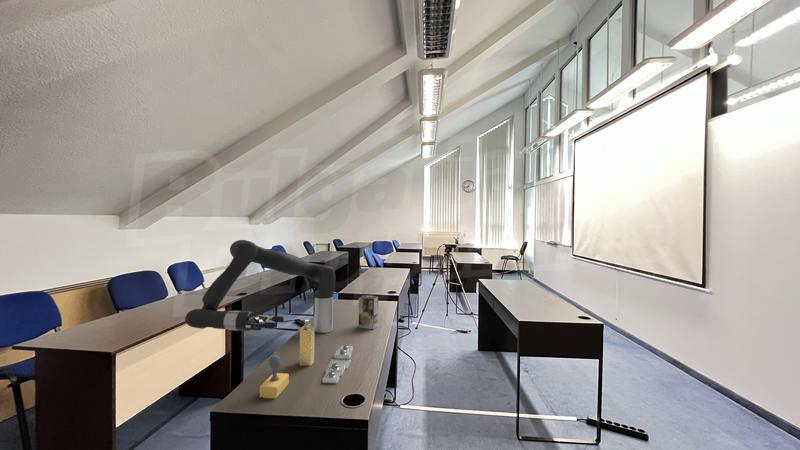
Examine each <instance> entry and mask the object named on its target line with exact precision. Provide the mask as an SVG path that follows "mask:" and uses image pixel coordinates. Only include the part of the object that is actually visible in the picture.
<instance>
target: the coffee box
mask: <svg viewBox="0 0 800 450" xmlns="http://www.w3.org/2000/svg"><path fill="white" fill-rule="evenodd" d="M377 327H379V295H378V296H377V295H369V294H368V295H367V294H363V295H361V296H359V297H358V328H363V329H368V330H369V329H370V330H375V329H376V328H377Z"/></svg>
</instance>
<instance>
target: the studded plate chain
mask: <svg viewBox="0 0 800 450" xmlns="http://www.w3.org/2000/svg"><path fill="white" fill-rule="evenodd" d="M353 350H354V345H347V344H346V345H345V344H344V345H341V346H340V347H339V349H337V350H336V351H335V353H334V356H333V357H334V358H333V359H332V358H331V360H329V361H330V362H329V363H328V365H327V367H326V368H325V374H324V375H323V378H322V384H338V382H339V380H340V378H341V377H343V374H344V372H345V370H348V369H349V366H350V364H351V362H352V360H351V359H350V358H351V357H352V352H353Z"/></svg>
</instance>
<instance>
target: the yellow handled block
mask: <svg viewBox="0 0 800 450" xmlns="http://www.w3.org/2000/svg"><path fill="white" fill-rule="evenodd" d="M268 364H269V366H270V370H271V372H272V374H271V375H270V376H269V377H268V378H267V379H266V380H265V381H264V382H263V383H262V384H261V385H260V386H259V398H261V397H263V398H261V399H275V400H276V399H277V398H278V397H279V396H280V394H282V392H283V391H284V390H285V389H286V388H287V386H288V385H289V384H290V380H289V379H290V376H289V373H282V372H280V373H279V372H278V371H279V368H280V365H281V357H280V355H278V354H273V355H272V356H271V357H270V359H269V363H268Z"/></svg>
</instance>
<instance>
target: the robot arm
mask: <svg viewBox="0 0 800 450" xmlns="http://www.w3.org/2000/svg"><path fill="white" fill-rule="evenodd" d="M229 253H230V256H231V257H232V259H231V261H230V263H229V265H228V266H227V267H226V268H225V270H224V271H223V272H222V273H220V274H219V275H218V276H217V278H215V279H214V281H213V282H212V283H211V285H210V286H209V287H208V288H207V290H206V292H205V294H204V295H203V296H202V298H201V301H202V303H203V305H202V307H201V308H195V309H191V310H190V311H188V312H187V313H186V315H185V317H184V321H185V323H186V324H187V326H188V327H191V328H194V329H195V328H196V329H206V328H212V329H218V330H230V331H238V332H239V331H240V332H241V331H243V332H245V331H246V332H249V331H261V330H264V329H270V330H271V329H272V330H273V329H275V328H276V323H283V322H285V321H284V319H285V317H284V316H277V315H276V314H275V313H260V314H258V315H255V314H254V311H251V310H250V311H249V310H218V309H219V306H220V305H221V303H222V302H223V300H224V298H225V297H226V295H228V292H229V291H230V289H231V288H232V286H233V285H234V283H235V282H236V281H237V280H238V278H239V277H240V276H241V275H242V273H243V272H244V271H245V270H246V269H247V267H249V265H250V264H251V263H254V264H255V263H256V264H258V265H261V266H264V267H266V268H268V269H271V270H273V271H276V272H279V273H282V274H286V275H291V276H300V277H305V278H308V279H310V280H312V281H314V282H318V288H317V290H315V291H314V321H313V322H314V324H313V327H315V332H316V333H320V334H322V333H323V334H325V333H330V332H332V331H333V328H334V327H333V325H334V324H333V323H334V293H335V289H336V271H335V268H334V267H332V266H330V265H325V264H318V263H312V262H309V261H306V260H304V259H302V258H301V257H299V256H298V255H297V256H296V255H293V254H291V253H288V252H283V251H279V250H275V249H268V248H264V247H261V246H259V245H257V244H255V243H254V242H253V241H250V240H246V239H239V240H236V241H234V242H232V243H231V245H230V247H229Z"/></svg>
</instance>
